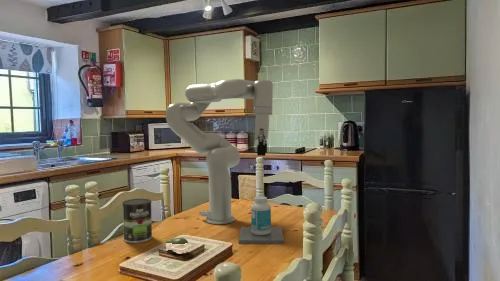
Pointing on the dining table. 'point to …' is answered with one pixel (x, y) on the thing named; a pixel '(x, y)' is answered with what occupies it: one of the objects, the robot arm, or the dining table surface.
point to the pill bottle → (261, 216)
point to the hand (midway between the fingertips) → (262, 154)
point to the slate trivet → (261, 236)
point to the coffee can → (137, 220)
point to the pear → (177, 241)
